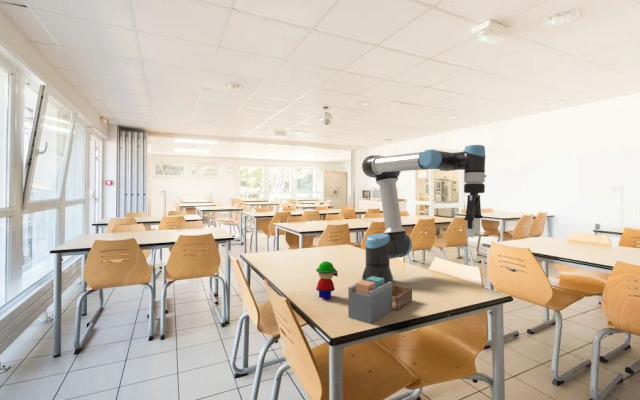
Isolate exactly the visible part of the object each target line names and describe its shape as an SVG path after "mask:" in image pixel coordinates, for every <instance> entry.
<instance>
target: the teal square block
mask: <svg viewBox="0 0 640 400" xmlns="http://www.w3.org/2000/svg"><path fill="white" fill-rule="evenodd" d="M366 281H370V282H375V288H377V287H379V286H381V285H383V284H384V278H380V277H374V276H371V277H369V278H367V279H366Z"/></svg>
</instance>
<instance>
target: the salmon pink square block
mask: <svg viewBox="0 0 640 400" xmlns="http://www.w3.org/2000/svg"><path fill="white" fill-rule="evenodd" d="M355 284H356V292H359V293H364V294H369V291H371V290H373V289H375V282H370V281H365V280H362V279H361V280H360V281H357V282H355Z"/></svg>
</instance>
